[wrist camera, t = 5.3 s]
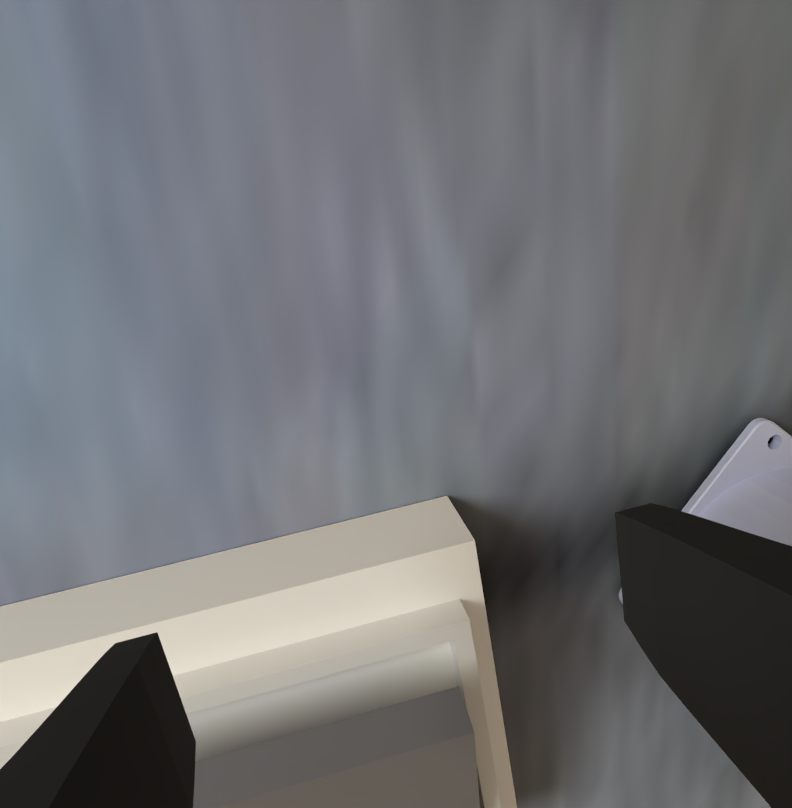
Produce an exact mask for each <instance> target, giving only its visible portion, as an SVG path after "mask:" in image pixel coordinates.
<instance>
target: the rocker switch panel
mask: <svg viewBox="0 0 792 808" xmlns="http://www.w3.org/2000/svg"><path fill="white" fill-rule="evenodd" d="M156 632H157V633H158V636H159V639H160V641H161V644H162V647H163V650H164V653H165V655H166V658H167V661H168V664H169V667H170V670H171V672H172V675H173V678H174V681H175V684H176V687H177V689H178V692H179V695H180V698H181V701H182V704H183V706H184V709H185V712H186V715H187V718H188V721H189V723H190V726H191V729H192V732H193V735H194V737H195V740H196V753H195V761H198V760H201V759H205V758H208V757H212V756H215V755H219V754H222V753H226V752H229V751H233V750H236V749H240V748H243V747H247V746H250V745H254V744H257V743H261V742H264V741H268V740H271V739H275V738H278V737H282V736H285V735H289V734H292V733H296V732H299V731H303V730H306V729H310V728H313V727H317V726H320V725H324V724H327V723H331V722H334V721H338V720H342V719H345V718H349V717H352V716H356V715H359V714H363V713H366V712H370V711H373V710H377V709H380V708H384V707H387V706H391V705H394V704H398V703H401V702H405V701H408V700H412V699H415V698H419V697H422V696H426V695H429V694H433V693H436V692H440V691H443V690H447V689H450V688H454V687H457V686H459V688H460V691H461V694H462V697H463V700H464V703H465V706H466V709H467V712H468V715H469V718H470V721H471V724H472V727H473V730H474V735H475V748H476V761H477V775H478V788H479V801H480V808H517V804H516V798H515V791H514V785H513V779H512V772H511V766H510V760H509V753H508V747H507V741H506V734H505V728H504V722H503V715H502V709H501V703H500V696H499V690H498V684H497V677H496V671H495V665H494V659H493V652H492V646H491V640H490V633H489V627H488V621H487V614H486V608H485V602H484V595H483V589H482V583H481V576H480V570H479V564H478V557H477V551H476V545H475V540H474V538H473V537H472V535H471V533H470V532H469V530H468V529H467V527H466V525H465V524H464V522H463V521H462V519H461V517H460V516H459V514H458V512H457V511H456V509H455V508H454V506H453V504H452V503H451V501H450V500H449V498H448V496H444V497H440V498H436V499H432V500H428V501H424V502H420V503H416V504H412V505H408V506H404V507H400V508H396V509H392V510H388V511H384V512H380V513H376V514H372V515H368V516H364V517H359V518H355V519H351V520H347V521H343V522H339V523H335V524H331V525H327V526H323V527H319V528H315V529H311V530H307V531H303V532H299V533H295V534H291V535H287V536H283V537H279V538H275V539H271V540H267V541H263V542H259V543H255V544H251V545H246V546H242V547H238V548H234V549H230V550H226V551H222V552H218V553H214V554H210V555H206V556H202V557H198V558H194V559H190V560H186V561H182V562H178V563H174V564H170V565H166V566H162V567H158V568H154V569H150V570H146V571H142V572H138V573H134V574H129V575H125V576H121V577H117V578H113V579H109V580H105V581H101V582H97V583H93V584H89V585H85V586H81V587H77V588H73V589H69V590H65V591H61V592H57V593H53V594H49V595H45V596H41V597H37V598H33V599H29V600H25V601H21V602H16V603H12V604H8V605H4V606H0V769H1V768H2V767H3V766H4V765H5V764H6V763H7V762H8V761H9V760H10V759H11V757H12V756H13V755H14V754H15V753H16V752H17V751H18V750H19V749H20V748H21V746H22V745H23V744H24V743H25V742H26V741H27V740H28V739H29V738H30V736H31V735H32V734H33V733H34V732H35V731H36V730H37V729H38V728H39V726H40V725H41V724H42V723H43V722H44V721H45V720H46V719H47V717H48V716H49V715H50V714H51V713H52V712H53V711H54V710H55V709H56V707H57V706H58V705H59V704H60V703H61V702H62V701H63V699H64V698H65V697H66V696H67V695H68V694H69V693H70V692H71V690H72V689H73V688H74V687H75V686H76V685H77V684H78V682H79V681H80V680H81V679H82V678H83V677H84V676H85V675H86V673H87V672H88V671H89V670H90V669H91V668H92V667H93V666H94V665H95V663H96V662H97V661H98V660H99V659H100V658H101V657H102V656H103V655H104V654H105V653H106V652H107V651H108V650H109V649H110V648H111V647H112V646H113V645H114V644H115V643H118V642H122V641H126V640H129V639H133V638H137V637H141V636H145V635H149V634H152V633H156Z"/></svg>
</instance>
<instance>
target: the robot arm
mask: <svg viewBox="0 0 792 808" xmlns="http://www.w3.org/2000/svg"><path fill="white" fill-rule="evenodd" d="M772 436H773V440H772V442H771V443H770V444H769V445H768V441H769V439H770V438H771V437H772ZM615 518H616V529H617V541H618V552H619V564H620V576H621V589H620V591H619V600H620V602H621V603H622V604H623V610H624V621H625V622H626V624H627V626H628V627H629V629H630V630H631V632H632V633H633V635H634V637H635V638H636V640H637V641H638V643H639V645H640V646H641V648H642V649H643V651H644V652H645V654H646V655H647V657H648V658H649V660H650V661H651V663H652V664H653V666H654V667H655V669H656V670H657V672H658V673H659V675H660V676H661V677H662V679H663V680H664V681H665V682H666V683H667V685H668V686H669V687H670V688H671V690H672V691H673V692H674V693H675V694H676V695H677V697H678V698H679V699H680V700H681V701H682V703H683V704H684V705H685V706H686V707H687V709H688V710H689V711H690V712H691V713H692V715H693V716H694V717H695V718H696V719H697V721H698V722H699V723H700V724H701V725H702V726H703V728H704V729H705V730H706V731H707V732H708V733H709V735H710V736H711V737H712V738H713V739H714V740H715V742H716V743H717V744H718V745H719V746H720V748H721V749H722V750H723V751H724V752H725V753H726V755H727V756H728V757H729V758H730V759H731V760H732V762H733V763H734V764H735V765H736V766H737V767H738V769H739V770H740V771H741V772H742V773H743V775H744V776H745V777H746V778H747V779H748V780H749V782H750V783H751V784H752V785H753V786H754V787H755V789H756V790H757V791H758V792H759V793H760V794H761V796H762V797H763V798H764V799H765V800H766V802H767V803H768V804H769V805H770V806H771V808H792V436H790V435H789V434H788V433H787V432H785V431H784V430H783V429H782V428H780V427H779V426H778V425H777V424H775V423H774V422H772V421H770V420H767V419H765V418H757V419H754V420H752V421H751V422H750V423H749V424H748V425H747V427H746V428H745V429H744V431H743V432H742V433H741V434H740V436H739V437H738V438H737V440H736V441H735V442H734V443H733V445H732V446H731V447H730V449H729V450H728V451H727V452H726V454H725V455H724V456H723V458H722V459H721V460H720V461H719V463H718V464H717V465H716V467H715V468H714V469H713V470H712V472H711V473H710V474H709V476H708V477H707V478H706V479H705V481H704V482H703V483H702V485H701V486H700V487H699V488H698V490H697V491H696V492H695V494H694V495H693V496H692V497H691V499H690V500H689V501H688V503H687V504H686V505H685V506H684V508H683V509H682V510H681V511H679V510H675V509H672V508H668V507H664V506H660V505H656V504H651V503H650V504H646V505H643V506H639V507H635V508H631V509H627V510H623V511H620V512H616V513H615ZM195 753H196V740H195V737H194V735H193V732H192V729H191V726H190V723H189V721H188V718H187V715H186V712H185V709H184V706H183V704H182V701H181V698H180V695H179V692H178V689H177V687H176V684H175V681H174V678H173V675H172V672H171V670H170V667H169V664H168V661H167V658H166V655H165V653H164V650H163V647H162V644H161V641H160V639H159V636H158V633H157V632H156V633H152V634H149V635H145V636H141V637H137V638H133V639H129V640H126V641H122V642H118V643H115V644H114V645H113V646H112V647H111V648H110V649H109V650H108V651H107V652H106V653H105V654H104V655H103V656H102V657H101V658H100V659H99V660H98V661H97V662H96V663H95V665H94V666H93V667H92V668H91V669H90V670H89V671H88V672H87V673H86V675H85V676H84V677H83V678H82V679H81V680H80V681H79V682H78V684H77V685H76V686H75V687H74V688H73V689H72V690H71V692H70V693H69V694H68V695H67V696H66V697H65V698H64V699H63V701H62V702H61V703H60V704H59V705H58V706H57V707H56V709H55V710H54V711H53V712H52V713H51V714H50V715H49V716H48V717H47V719H46V720H45V721H44V722H43V723H42V724H41V725H40V726H39V728H38V729H37V730H36V731H35V732H34V733H33V734H32V735H31V736H30V738H29V739H28V740H27V741H26V742H25V743H24V744H23V745H22V746H21V748H20V749H19V750H18V751H17V752H16V753H15V754H14V755H13V756H12V757H11V759H10V760H9V761H8V762H7V763H6V764H5V765H4V766H3V767H2V768H1V769H0V808H193V799H194V782H195Z"/></svg>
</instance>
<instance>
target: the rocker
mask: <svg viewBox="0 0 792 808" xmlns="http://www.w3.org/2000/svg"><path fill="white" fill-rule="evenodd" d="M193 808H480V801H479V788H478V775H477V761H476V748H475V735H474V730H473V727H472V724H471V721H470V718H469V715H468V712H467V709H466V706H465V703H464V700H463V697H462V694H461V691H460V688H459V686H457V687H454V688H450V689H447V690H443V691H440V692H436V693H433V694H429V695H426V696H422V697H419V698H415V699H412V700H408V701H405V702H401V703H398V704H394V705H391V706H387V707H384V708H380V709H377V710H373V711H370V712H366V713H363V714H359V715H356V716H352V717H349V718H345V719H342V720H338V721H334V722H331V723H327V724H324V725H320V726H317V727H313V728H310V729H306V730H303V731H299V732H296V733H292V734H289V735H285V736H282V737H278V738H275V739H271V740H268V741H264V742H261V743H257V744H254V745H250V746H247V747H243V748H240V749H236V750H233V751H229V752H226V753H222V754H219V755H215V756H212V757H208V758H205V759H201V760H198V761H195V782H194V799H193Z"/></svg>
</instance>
